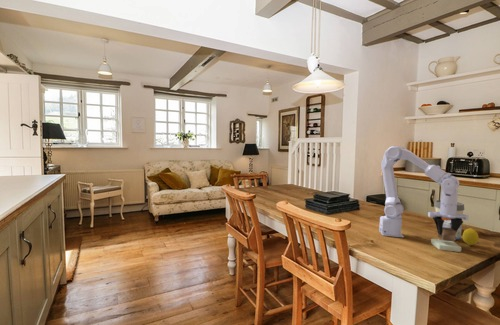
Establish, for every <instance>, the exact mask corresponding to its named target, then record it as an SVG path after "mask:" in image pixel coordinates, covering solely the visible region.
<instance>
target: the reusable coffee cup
mask: <svg viewBox="0 0 500 325" xmlns="http://www.w3.org/2000/svg"><path fill="white" fill-rule="evenodd" d="M440 203H441V199H439V200H435V202H434V206H433V207H434V209H435V210H434V212H440ZM464 210H465V204H464V203H462V202H459V201H457V211H456V214H463V213H464ZM442 220H451V218H442Z"/></svg>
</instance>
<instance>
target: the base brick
mask: <svg viewBox="0 0 500 325" xmlns="http://www.w3.org/2000/svg"><path fill="white" fill-rule="evenodd" d="M430 243H431V244H432V245H433V246H434V247H435V248H437V249H438V251H447V252H448V251H450V252H458V253H462V246H460V245H459V244H457V243H456V242H455V241H445V240H442V239H441V238H431V239H430Z"/></svg>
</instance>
